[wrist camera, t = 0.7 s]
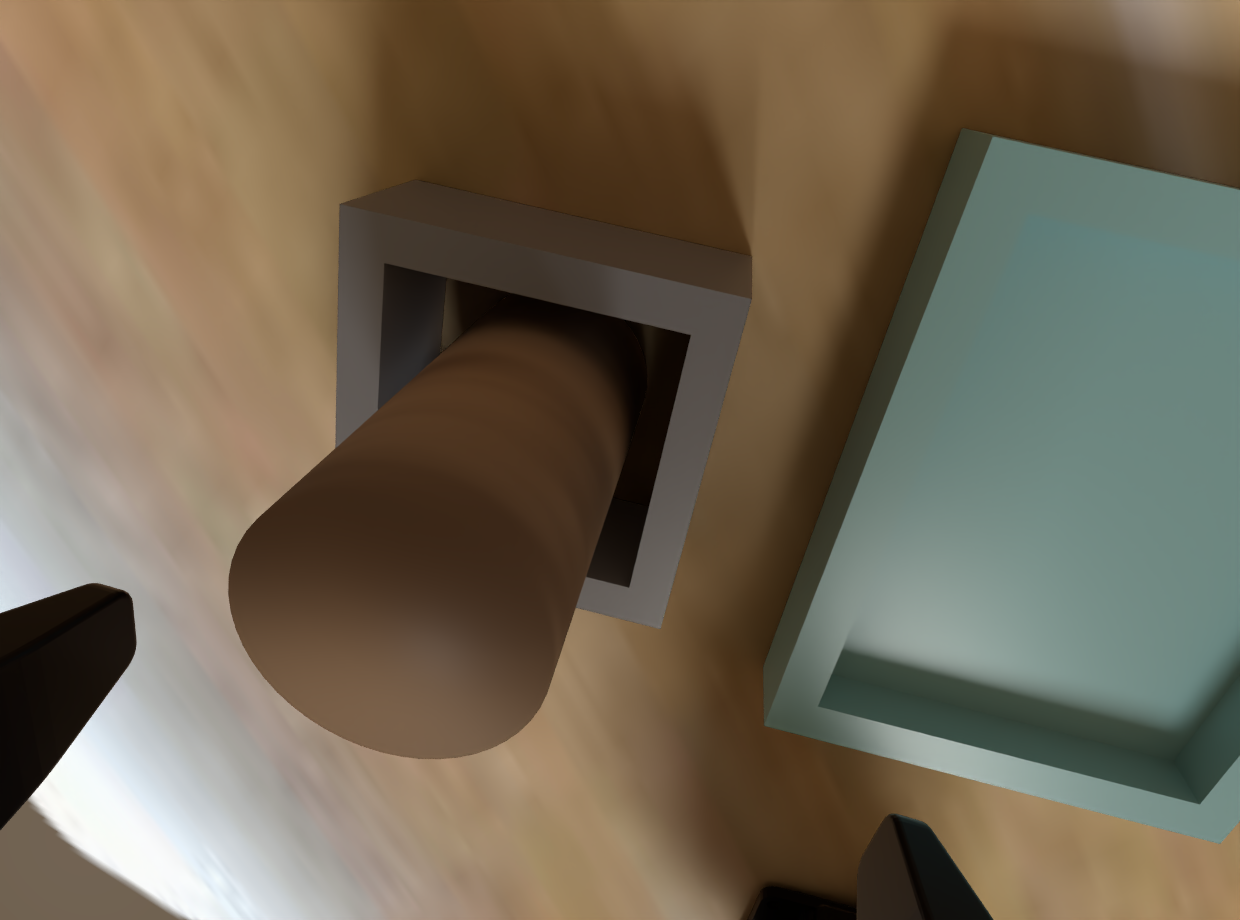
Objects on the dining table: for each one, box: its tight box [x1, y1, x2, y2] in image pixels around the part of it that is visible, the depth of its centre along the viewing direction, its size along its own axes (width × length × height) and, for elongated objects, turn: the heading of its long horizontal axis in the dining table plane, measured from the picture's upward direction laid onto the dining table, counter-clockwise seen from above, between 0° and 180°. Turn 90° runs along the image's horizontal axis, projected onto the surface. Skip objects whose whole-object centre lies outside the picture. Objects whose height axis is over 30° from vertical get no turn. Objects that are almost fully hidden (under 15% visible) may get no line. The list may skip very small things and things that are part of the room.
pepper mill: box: [228, 293, 647, 759], centre depth 16 cm, size 5×5×11 cm
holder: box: [335, 180, 752, 629], centre depth 19 cm, size 9×9×4 cm
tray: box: [763, 128, 1240, 844], centre depth 19 cm, size 16×13×2 cm
